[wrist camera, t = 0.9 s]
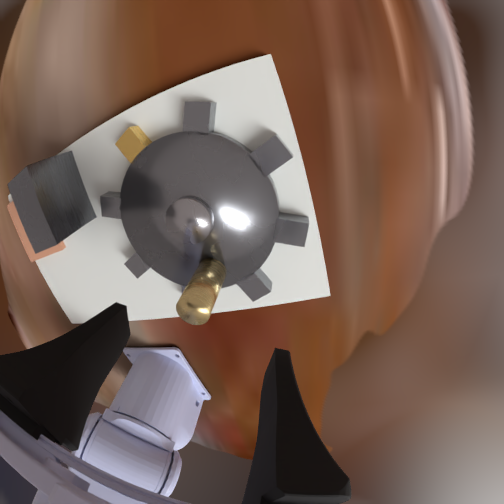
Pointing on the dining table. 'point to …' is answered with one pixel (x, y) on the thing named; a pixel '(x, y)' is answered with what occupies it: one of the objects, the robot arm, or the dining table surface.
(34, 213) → the grey rectangular block
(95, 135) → the board
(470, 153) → the dining table surface
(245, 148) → the sprocket
